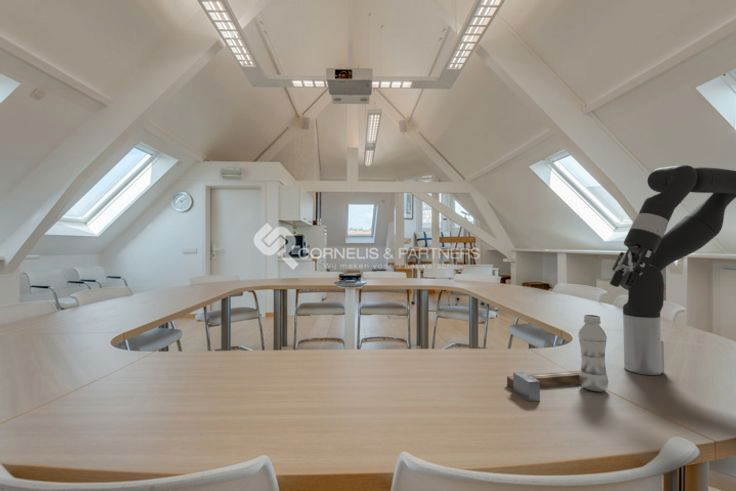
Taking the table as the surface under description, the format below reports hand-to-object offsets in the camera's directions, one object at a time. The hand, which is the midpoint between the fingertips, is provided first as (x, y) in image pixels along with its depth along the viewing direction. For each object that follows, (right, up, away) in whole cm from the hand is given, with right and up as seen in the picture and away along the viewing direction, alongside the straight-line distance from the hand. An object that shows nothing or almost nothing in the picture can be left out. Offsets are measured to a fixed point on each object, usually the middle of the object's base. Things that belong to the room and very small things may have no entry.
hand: (620, 286), depth 98 cm
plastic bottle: (-9, -28, -2) cm, 30 cm away
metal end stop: (-29, -28, -5) cm, 41 cm away
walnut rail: (-17, -28, +3) cm, 33 cm away
